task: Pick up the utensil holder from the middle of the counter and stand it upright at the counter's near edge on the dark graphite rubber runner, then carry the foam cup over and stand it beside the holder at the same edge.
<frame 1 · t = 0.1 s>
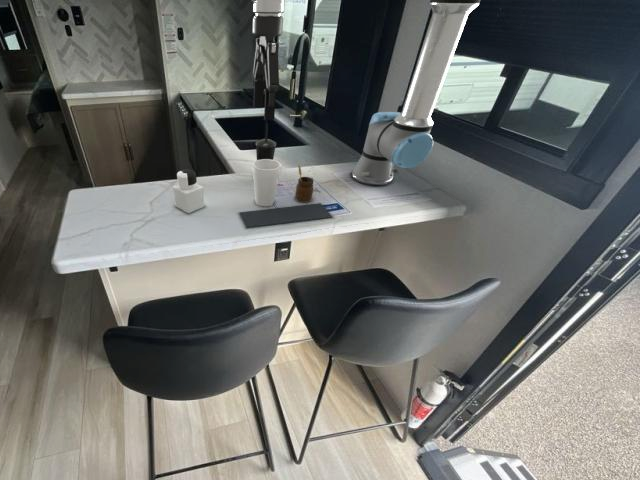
hand: (263, 112, 93), 28 cm above the countertop, tool pointing down, fingers open, 13 cm apart
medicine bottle: (190, 207, 110), on the countertop
drinking cup: (263, 180, 126), on the countertop
foam cup: (264, 202, 113), on the countertop
edge runner mat: (285, 215, 106), on the countertop
utensil holder: (302, 199, 115), on the countertop
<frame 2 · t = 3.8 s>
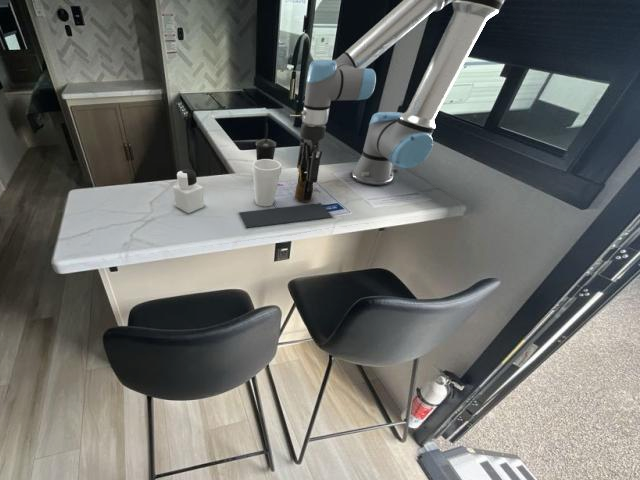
hand: (303, 195, 114), 1 cm above the countertop, tool pointing down, fingers closed on utensil holder, 6 cm apart
utensil holder: (302, 199, 115), on the countertop, touching gripper
everything else where it was.
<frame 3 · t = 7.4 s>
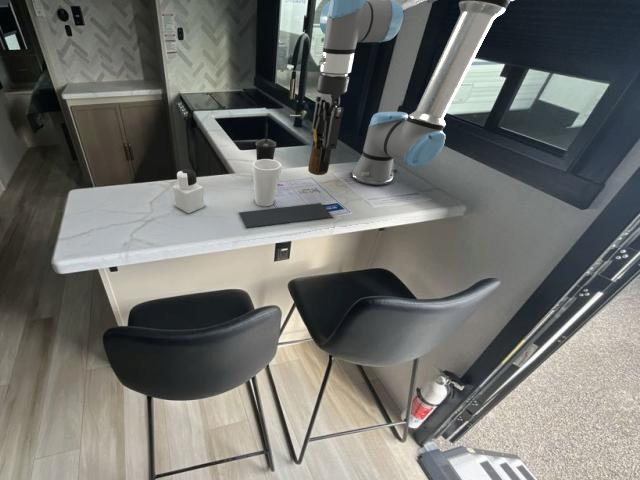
hand: (318, 167, 96), 15 cm above the countertop, tool pointing down, fingers closed on utensil holder, 6 cm apart
utensil holder: (317, 172, 97), point 14 cm above the countertop, touching gripper
everything else where it was.
when the fingers open (2 cm above the countertop, at t = 10.8 s): utensil holder stays where it is, resting on edge runner mat.
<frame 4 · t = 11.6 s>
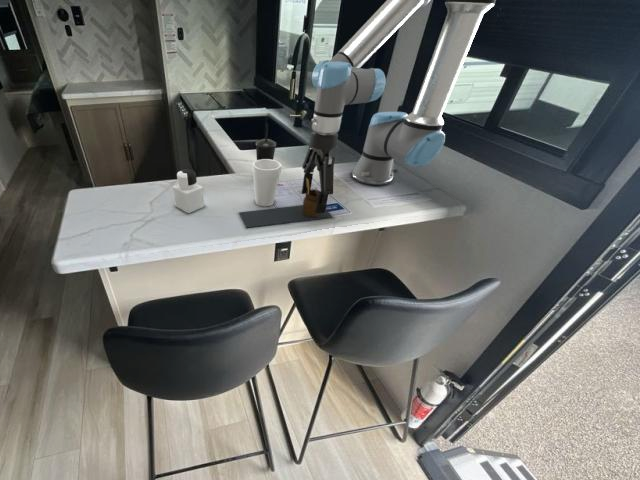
hand: (312, 202, 104), 4 cm above the countertop, tool pointing down, fingers open, 13 cm apart
utensil holder: (310, 213, 107), resting on edge runner mat
everything else where it was.
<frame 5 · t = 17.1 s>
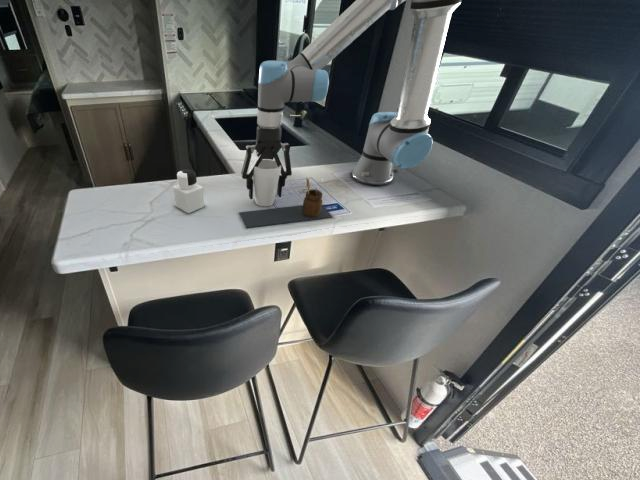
hand: (265, 196, 112), 2 cm above the countertop, tool pointing down, fingers closed on foam cup, 9 cm apart
foam cup: (264, 202, 113), on the countertop, touching gripper
everything else where it was.
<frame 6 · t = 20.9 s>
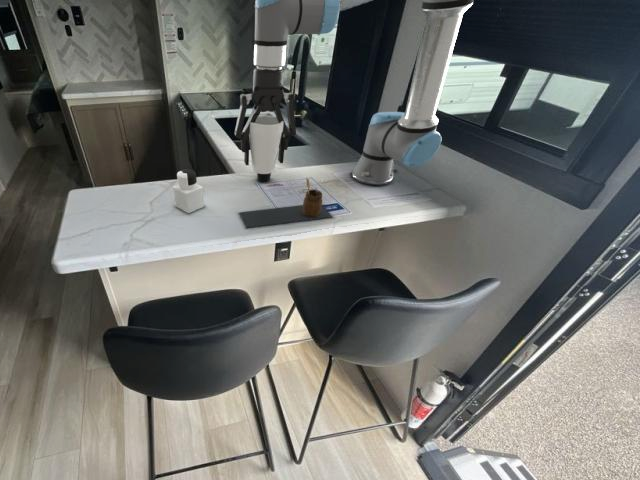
hand: (263, 162, 93), 18 cm above the countertop, tool pointing down, fingers closed on foam cup, 9 cm apart
foam cup: (263, 170, 94), point 16 cm above the countertop, touching gripper
everything else where it was.
when the fingers open (2 cm above the countertop, at t = 24.8 s): foam cup stays where it is, resting on edge runner mat.
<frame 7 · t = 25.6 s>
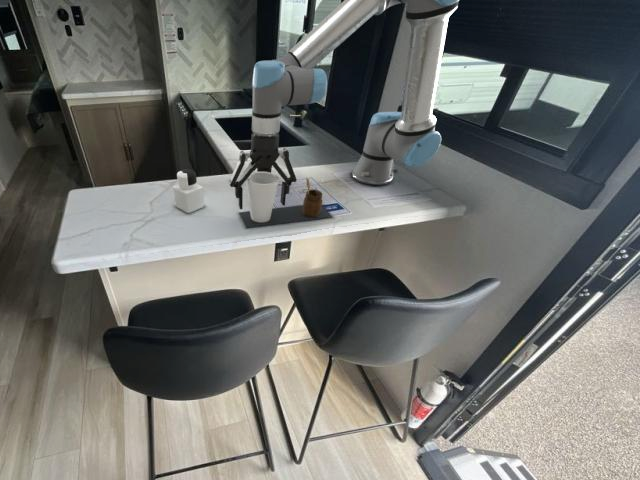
hand: (261, 205, 101), 5 cm above the countertop, tool pointing down, fingers open, 13 cm apart
foam cup: (260, 218, 104), resting on edge runner mat
everything else where it was.
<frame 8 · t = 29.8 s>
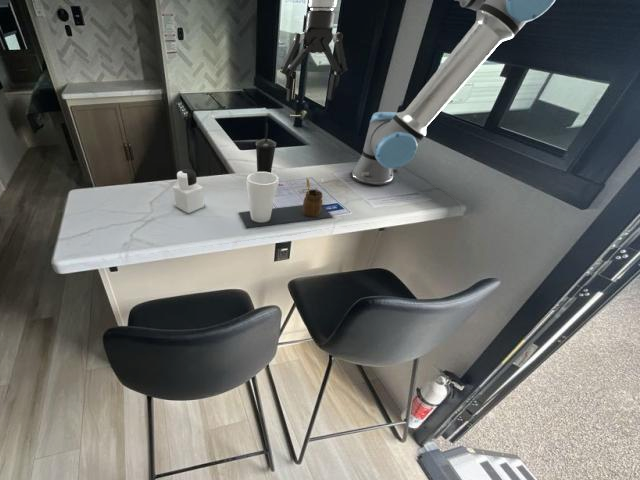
hand: (309, 100, 102), 29 cm above the countertop, tool pointing down, fingers open, 13 cm apart
nothing on the countertop moved.
at the end: utensil holder inside the target area (0.5 cm from its centre), resting on edge runner mat; foam cup inside the target area (0.8 cm from its centre), resting on edge runner mat; utensil holder tilted 0° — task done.
